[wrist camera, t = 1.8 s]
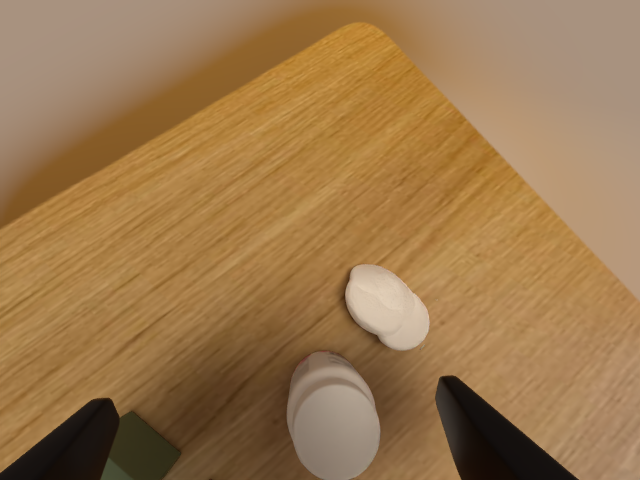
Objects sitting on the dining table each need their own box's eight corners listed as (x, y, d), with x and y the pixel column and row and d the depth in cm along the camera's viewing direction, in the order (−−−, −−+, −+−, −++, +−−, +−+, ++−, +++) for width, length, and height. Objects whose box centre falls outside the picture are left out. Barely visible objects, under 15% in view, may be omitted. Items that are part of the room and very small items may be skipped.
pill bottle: (302, 432, 21) (301, 512, 13) (282, 363, 22) (269, 396, 14) (367, 407, 22) (404, 468, 14) (344, 340, 23) (367, 360, 14)
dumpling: (323, 304, 23) (327, 287, 20) (367, 260, 25) (377, 238, 22) (396, 374, 21) (414, 369, 18) (437, 321, 23) (461, 307, 20)
